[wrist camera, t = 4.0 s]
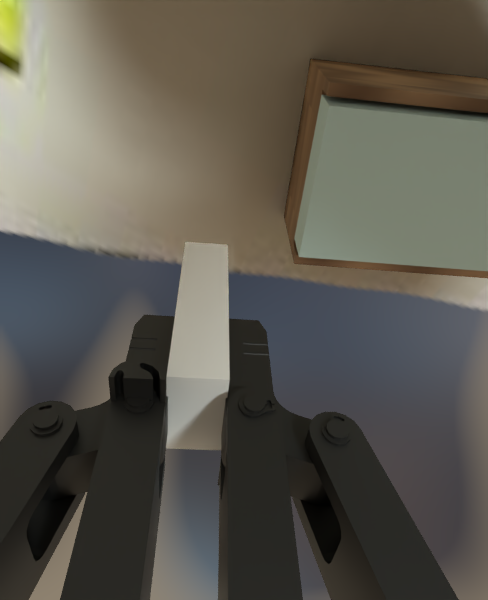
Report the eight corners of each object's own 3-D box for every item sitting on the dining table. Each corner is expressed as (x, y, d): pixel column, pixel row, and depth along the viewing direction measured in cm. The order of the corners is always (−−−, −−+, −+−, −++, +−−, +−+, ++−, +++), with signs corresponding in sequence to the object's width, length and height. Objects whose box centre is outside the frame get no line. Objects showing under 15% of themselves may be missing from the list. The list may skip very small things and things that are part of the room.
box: (283, 215, 33) (294, 263, 28) (310, 58, 27) (330, 82, 22) (473, 231, 34) (516, 280, 29) (538, 84, 28) (607, 112, 23)
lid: (294, 238, 28) (298, 256, 26) (321, 94, 23) (329, 105, 22) (482, 253, 29) (498, 272, 27) (545, 118, 24) (570, 131, 23)
